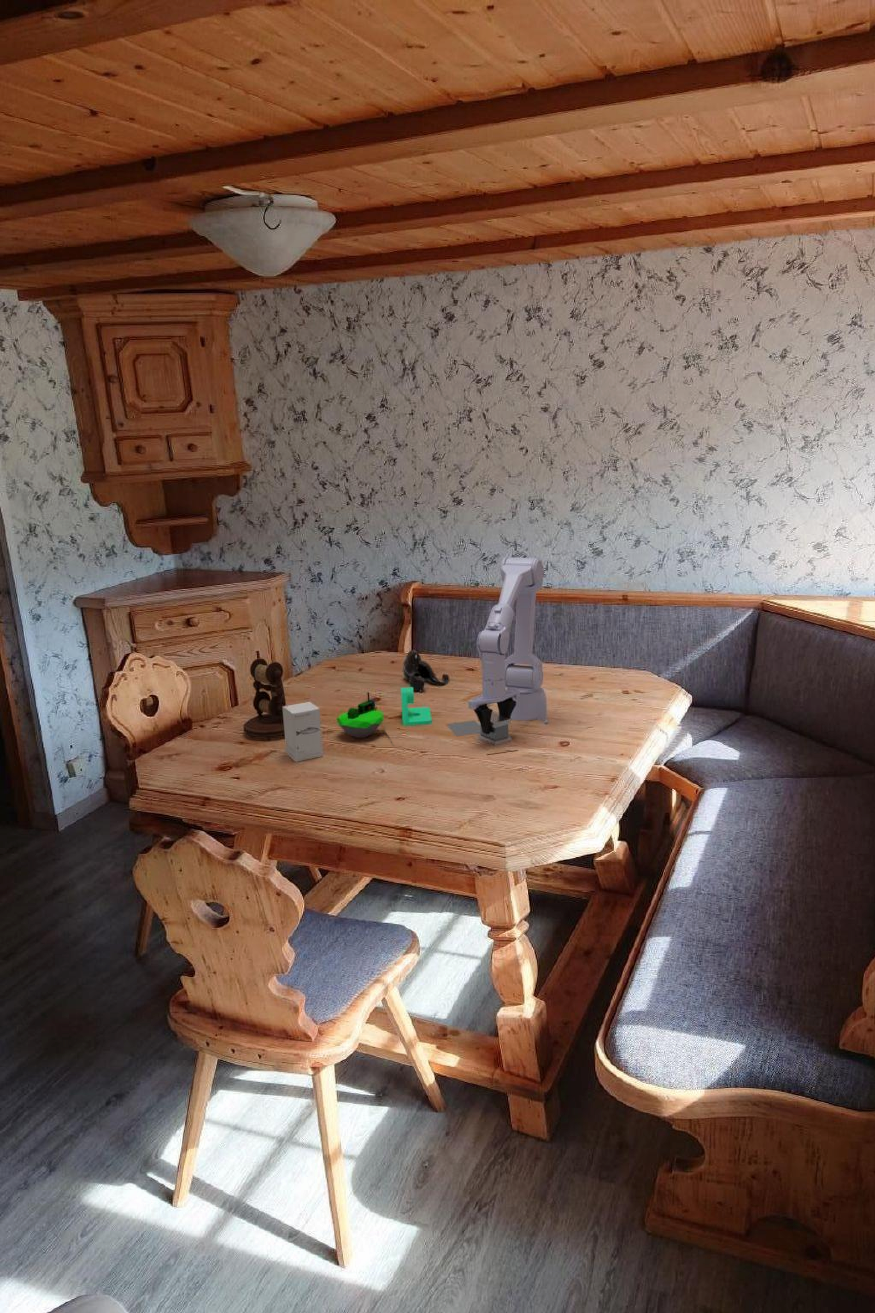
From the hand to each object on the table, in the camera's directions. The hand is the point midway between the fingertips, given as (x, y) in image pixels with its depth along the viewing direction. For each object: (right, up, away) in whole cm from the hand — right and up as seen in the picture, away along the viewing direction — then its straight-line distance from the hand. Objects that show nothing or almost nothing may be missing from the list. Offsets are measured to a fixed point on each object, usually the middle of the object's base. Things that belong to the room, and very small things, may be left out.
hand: (495, 730), depth 229 cm
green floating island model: (-34, -3, +13) cm, 37 cm away
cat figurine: (-17, +9, +57) cm, 60 cm away
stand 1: (-7, -2, +11) cm, 13 cm away
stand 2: (0, -4, +1) cm, 4 cm away
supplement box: (-47, -6, +1) cm, 48 cm away
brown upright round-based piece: (-59, -2, +19) cm, 62 cm away
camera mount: (-20, 0, +21) cm, 29 cm away
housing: (0, -2, +1) cm, 3 cm away
